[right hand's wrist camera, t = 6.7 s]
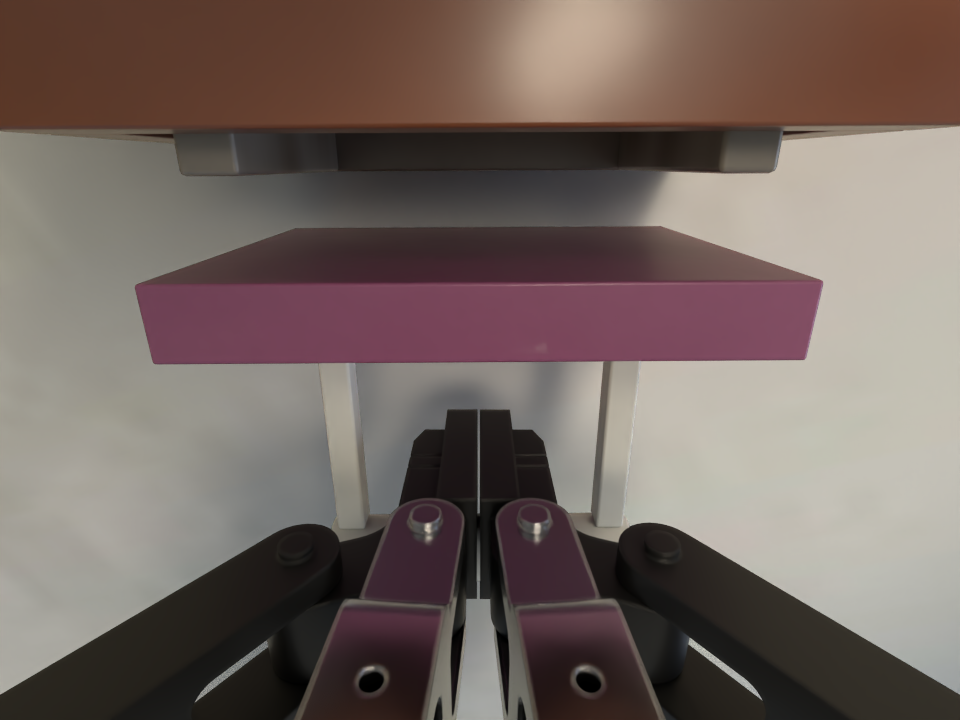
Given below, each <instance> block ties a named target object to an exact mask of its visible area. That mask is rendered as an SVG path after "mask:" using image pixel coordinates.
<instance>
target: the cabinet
mask: <svg viewBox="0 0 960 720" xmlns="http://www.w3.org/2000/svg"><path fill="white" fill-rule="evenodd" d="M957 126H960V0H0V131H3V132H17V133H31V134H50V135H60V136H74V137H88V138H103V139H117V140H131V141H146V142H160V143H174V138H173V134H244V133H448V132H652V131H783V136H782V140H793V139H806V138H818V137H831V136H844V135H856V134H869V133H881V132H894V131H904V130H920V129H932V128H945V127H957ZM174 144H175V143H174Z"/></svg>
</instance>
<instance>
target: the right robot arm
mask: <svg viewBox="0 0 960 720" xmlns="http://www.w3.org/2000/svg"><path fill="white" fill-rule="evenodd" d="M477 493H478V437H477V409H448V410H447V417H446V425H445V430H424V431H423V432H422V433H421V434H420V435H419V436H418V437H417V438H416V439H415V440H414V443H413V447H412V451H411V457H410V460H409V464H408V469H407V473H406V477H405V482H404V486H403V490H402V495H401V499H400V503H399V507H398V508H397V509H395V510H394V511H393V512H392V514H391V515H390V516H389V518H388V521H387V523H386V526H384V527H383V528H381V529H380V530H378V531H376V532H374V533H372V534H369V535H366V536H363V537H359V538H355V539H351V540H346V541H342V542H340V541H339V538H338V536H337V535H336V533H335V532H334V531H333V530H331V529H329V528H328V527H325V526H322V525H317V524H301V525H295V526H291V527H288V528H285V529H283V530H280V531H278V532H276V533H274V534H273V535H271V536H269V537H267V538H266V539H264V540H262V541H261V542H259V543H257V544H256V545H254V546H252V547H250V548H249V549H247V550H245V551H244V552H242V553H240V554H239V555H237V556H235V557H233V558H232V559H230V560H228V561H227V562H225V563H223V564H222V565H220V566H218V567H216V568H215V569H213V570H211V571H210V572H208V573H206V574H205V575H203V576H201V577H199V578H198V579H196V580H194V581H193V582H191V583H189V584H188V585H186V586H184V587H182V588H181V589H179V590H177V591H176V592H174V593H172V594H171V595H169V596H167V597H166V598H164V599H162V600H160V601H159V602H157V603H155V604H154V605H152V606H150V607H149V608H147V609H145V610H143V611H142V612H140V613H138V614H137V615H135V616H133V617H132V618H130V619H128V620H126V621H125V622H123V623H121V624H120V625H118V626H116V627H115V628H113V629H111V630H109V631H108V632H106V633H104V634H103V635H101V636H99V637H98V638H96V639H94V640H92V641H91V642H89V643H87V644H86V645H84V646H82V647H81V648H79V649H77V650H75V651H74V652H72V653H70V654H69V655H67V656H65V657H64V658H62V659H60V660H58V661H57V662H55V663H53V664H52V665H50V666H48V667H47V668H45V669H43V670H42V671H40V672H38V673H36V674H35V675H33V676H31V677H30V678H28V679H26V680H25V681H23V682H21V683H19V684H18V685H16V686H14V687H13V688H11V689H9V690H8V691H6V692H4V693H2V694H1V695H0V720H456V718H457V710H458V701H459V692H460V684H461V675H462V667H463V658H464V649H465V641H466V599H477ZM480 599H490V604H491V619H492V622H493V625H494V641H495V649H496V658H497V667H498V675H499V684H500V692H501V701H502V709H503V718H504V720H960V695H959V694H958V693H956V692H954V691H952V690H951V689H949V688H947V687H946V686H944V685H942V684H941V683H939V682H937V681H935V680H934V679H932V678H930V677H929V676H927V675H925V674H924V673H922V672H920V671H918V670H917V669H915V668H913V667H912V666H910V665H908V664H907V663H905V662H903V661H901V660H900V659H898V658H896V657H895V656H893V655H891V654H890V653H888V652H886V651H884V650H883V649H881V648H879V647H878V646H876V645H874V644H873V643H871V642H869V641H868V640H866V639H864V638H862V637H861V636H859V635H857V634H856V633H854V632H852V631H851V630H849V629H847V628H845V627H844V626H842V625H840V624H839V623H837V622H835V621H834V620H832V619H830V618H828V617H827V616H825V615H823V614H822V613H820V612H818V611H817V610H815V609H813V608H811V607H810V606H808V605H806V604H805V603H803V602H801V601H800V600H798V599H796V598H794V597H793V596H791V595H789V594H788V593H786V592H784V591H783V590H781V589H779V588H777V587H776V586H774V585H772V584H771V583H769V582H767V581H766V580H764V579H762V578H761V577H759V576H757V575H755V574H754V573H752V572H750V571H749V570H747V569H745V568H744V567H742V566H740V565H738V564H737V563H735V562H733V561H732V560H730V559H728V558H727V557H725V556H723V555H721V554H720V553H718V552H716V551H715V550H713V549H711V548H710V547H708V546H706V545H704V544H703V543H701V542H699V541H698V540H696V539H694V538H693V537H691V536H689V535H687V534H686V533H684V532H682V531H680V530H678V529H676V528H673V527H671V526H667V525H663V524H658V523H640V524H636V525H633V526H630V527H628V528H627V529H625V530H624V531H623V532H622V534H621V535H620V538H619V542H613V541H609V540H605V539H601V538H596V537H593V536H589V535H587V534H584V533H582V532H580V531H578V530H576V529H575V526H574V523H573V521H572V518H571V516H570V515H569V514H568V512H567V511H566V510H565V509H563V508H562V507H561V506H559V505H557V500H556V496H555V491H554V487H553V482H552V478H551V473H550V469H549V464H548V460H547V457H546V451H545V446H544V442H543V440H542V439H541V438H540V437H539V436H538V435H537V434H536V433H535V432H534V431H533V430H512V424H511V415H510V410H480ZM689 638H691V639H693V640H694V641H695V642H697V643H698V644H699V645H701V646H702V647H703V648H705V649H706V650H707V651H709V652H710V653H711V654H713V655H714V656H715V657H717V658H718V659H719V660H721V661H722V662H724V663H725V664H726V665H728V666H729V667H730V668H732V669H733V670H734V671H736V672H737V673H738V674H740V675H741V676H742V677H744V678H745V679H746V680H747V681H748V682H749V683H750V684H751V685H752V686H753V687H754V688H755V689H756V690H757V692H758V693H759V695H760V696H761V698H762V700H763V701H762V700H761V699H760V698H758V697H757V696H756V695H754V694H753V693H752V692H750V691H749V690H748V689H746V688H745V687H744V686H742V685H741V684H740V683H738V682H737V681H736V680H735V679H733V678H732V677H731V676H729V675H728V674H727V673H725V672H724V671H723V670H721V669H720V668H719V667H717V666H716V665H715V664H713V663H712V662H711V661H709V660H708V659H707V658H706V657H704V656H703V655H702V654H700V653H699V652H698V651H696V650H695V649H694V648H692V647H691V646H690V645H688V643H689ZM266 640H267V642H268V648H266V649H265V650H264V651H262V652H261V653H260V654H258V655H257V656H256V657H254V658H253V659H252V660H251V661H249V662H248V663H247V664H245V665H244V666H243V667H241V668H240V669H239V670H237V671H236V672H235V673H233V674H232V675H231V676H229V677H228V678H227V679H225V680H224V681H223V682H222V683H220V684H219V685H218V686H216V687H215V688H214V689H212V690H211V691H210V692H208V693H207V694H206V695H204V696H203V697H202V698H200V699H199V700H198V701H196V699H197V697H198V696H199V694H200V693H201V691H202V690H203V689H204V688H205V687H206V686H207V685H208V684H209V683H210V682H211V681H212V680H214V679H215V678H216V677H218V676H219V675H220V674H222V673H223V672H224V671H226V670H227V669H228V668H230V667H231V666H232V665H234V664H235V663H236V662H238V661H239V660H240V659H242V658H243V657H245V656H246V655H247V654H249V653H250V652H251V651H253V650H254V649H255V648H257V647H258V646H259V645H261V644H262V643H263V642H265V641H266ZM195 701H196V702H195ZM194 702H195V703H194Z"/></svg>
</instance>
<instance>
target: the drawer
mask: <svg viewBox="0 0 960 720" xmlns="http://www.w3.org/2000/svg"><path fill="white" fill-rule="evenodd" d="M782 136H783V131H652V132H448V133H244V134H173V138H174V143H175V148H176V153H177V158H178V163H179V168H180V172H181V174H183V175H185V176H245V175H266V174H288V173H309V172H330V171H468V170H642V171H670V172H698V173H770V172H773V171H774V170H775V169H776V167H777V163H778V157H779V152H780V147H781V141H782ZM822 287H823V281H822V280H819V279H816V278H813V277H810V276H807V275H804V274H801V273H798V272H795V271H792V270H789V269H786V268H783V267H781V266H778V265H775V264H772V263H769V262H766V261H763V260H760V259H757V258H754V257H751V256H748V255H745V254H742V253H739V252H736V251H733V250H730V249H727V248H724V247H721V246H718V245H715V244H712V243H709V242H706V241H703V240H700V239H697V238H694V237H691V236H688V235H685V234H682V233H679V232H676V231H673V230H670V229H667V228H664V227H661V226H627V227H449V228H295V229H292V230H290V231H287V232H284V233H281V234H278V235H275V236H273V237H270V238H267V239H264V240H261V241H258V242H256V243H253V244H250V245H247V246H244V247H241V248H238V249H236V250H233V251H230V252H227V253H224V254H221V255H219V256H216V257H213V258H210V259H207V260H204V261H202V262H199V263H196V264H193V265H190V266H187V267H185V268H182V269H179V270H176V271H173V272H170V273H167V274H165V275H162V276H159V277H156V278H153V279H150V280H148V281H145V282H142V283H139V284H137V285H135V290H136V295H137V299H138V303H139V307H140V311H141V315H142V319H143V323H144V328H145V332H146V336H147V340H148V344H149V348H150V352H151V356H152V360H153V363H154V364H275V363H318V365H319V373H320V382H321V390H322V398H323V406H324V414H325V422H326V430H327V439H328V447H329V455H330V463H331V471H332V479H333V487H334V496H335V504H336V512H337V517H336V518H335V520H334V522H333V525H332V528H331V530H333V531H334V532H335V533H336V535H337V536H338V538H339V541H340V542H342V541H346V540H351V539H355V538H359V537H363V536H366V535H369V534H372V533H374V532H376V531H378V530H380V529H381V528H383V527H384V526H386V523H387V521H388V518H389V516H390V515H391V514H369V513H370V510H369V499H368V489H367V478H366V468H365V457H364V447H363V436H362V426H361V416H360V405H359V395H358V384H357V374H356V363H426V362H576V361H604V363H603V374H602V386H601V398H600V410H599V422H598V433H597V445H596V457H595V469H594V481H593V493H592V504H591V512H592V513H568V514H569V515H570V516H571V518H572V521H573V523H574V526H575V529H576V530H578V531H580V532H582V533H584V534H587V535H589V536H593V537H596V538H601V539H605V540H609V541H613V542H619V538H620V535H621V534H622V532H623V531H624V530H625V529H627V528H628V527H630V526H629V523H628V520H627V518H626V516H625V515H624V508H625V500H626V491H627V482H628V473H629V464H630V455H631V446H632V437H633V428H634V419H635V410H636V401H637V392H638V383H639V374H640V365H641V361H726V360H804V359H805V358H806V356H807V352H808V347H809V343H810V339H811V334H812V330H813V326H814V321H815V317H816V313H817V308H818V304H819V300H820V295H821V291H822ZM477 581H480V514H477Z"/></svg>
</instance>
